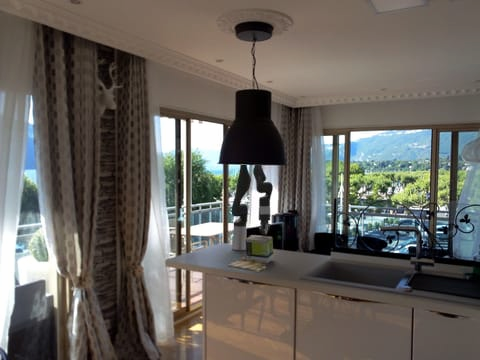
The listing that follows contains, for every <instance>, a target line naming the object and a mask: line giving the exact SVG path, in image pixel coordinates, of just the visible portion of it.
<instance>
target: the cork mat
mask: <svg viewBox="0 0 480 360" xmlns="http://www.w3.org/2000/svg"><path fill="white" fill-rule="evenodd" d="M266 265H268V263H267V262H262V261H256V260H250V259H247V258H240V260H238V261H234V262H232V263H229V264H227V266H228V267H231V268H238V269H243V270H249V271H254V272H255V270H256V269H258V268H261V267H263V266H266Z"/></svg>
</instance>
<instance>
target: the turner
mask: <svg viewBox="0 0 480 360" xmlns="http://www.w3.org/2000/svg"><path fill="white" fill-rule="evenodd" d="M272 267H273V265H270V264H267V265H266V266H263V267H261V268H258V269H256V270H254V272H255V273H259V272H261V271H264V270H265V268H266V269H267V268H268V269H270V268H272ZM263 269H264V270H263Z"/></svg>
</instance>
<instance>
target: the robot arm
mask: <svg viewBox="0 0 480 360" xmlns="http://www.w3.org/2000/svg"><path fill="white" fill-rule="evenodd" d="M252 174H253V176H254V180H255V184H256V187H255V189H256V191H257V192H258V193H259V194H264V195H262V196H261V197H259V199H258V221H260V225H259V226H258V230H259V233H260V234H262V235H261V236H267V234H268V233H269V232H270V231H269V230H270V227H271V224H270V222H269V221H271V197H272V193H273V190H274V186H273V184H272V182H271V181H267V176H266V174H265V171H264V168H263V166H262V164H261V165H255V164H254V167H253V170H252ZM237 178H238V179H237V183H236V190H235V194H234V197H233V198H234V199H233V201H232V206H231V215H232V216H233V217H234V218H235V217H238V219H236V220H235V221H233V235H232V236H231V239H232V241H231V250H234V251H246V241H245V239H246V238H247V225H248V224H247V223H248V218H249V217H248V215H249V209H248V208H249V207H248V205H247V204H246V203H242V199H243V198H244V197H245V196H246V194H247V193H248V191H249V190H250V187H251V182H252V178H251V174H250V172H249V170H248V164H247V165H241V164H240V166H239V173H238V177H237Z"/></svg>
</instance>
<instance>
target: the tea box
mask: <svg viewBox="0 0 480 360" xmlns="http://www.w3.org/2000/svg"><path fill="white" fill-rule="evenodd" d="M273 239H274V238H273V236H271V235H270V236H269V235H266V236H262V235H256V234H251V235H249V236H248V237H246V239H245V241H246V250H245V251H246V252H245V254H246V259H250V260H256V261H262V262H267V264H269V263H270V262H271V261H273V259H274V243H273Z"/></svg>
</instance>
